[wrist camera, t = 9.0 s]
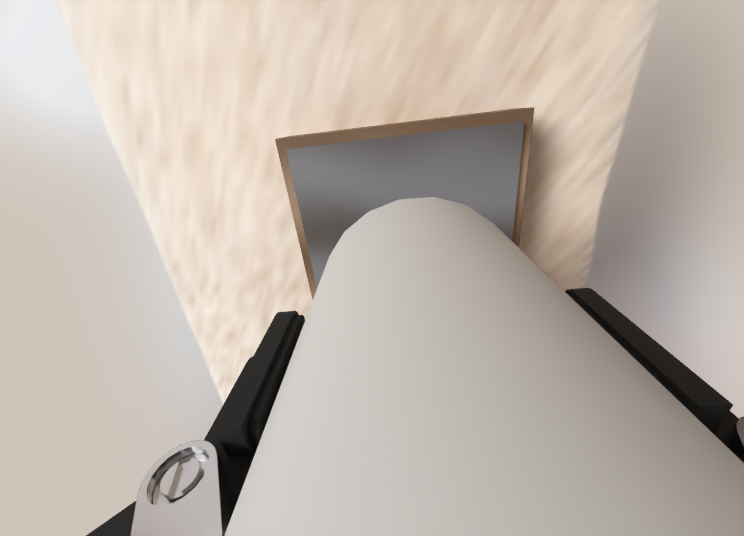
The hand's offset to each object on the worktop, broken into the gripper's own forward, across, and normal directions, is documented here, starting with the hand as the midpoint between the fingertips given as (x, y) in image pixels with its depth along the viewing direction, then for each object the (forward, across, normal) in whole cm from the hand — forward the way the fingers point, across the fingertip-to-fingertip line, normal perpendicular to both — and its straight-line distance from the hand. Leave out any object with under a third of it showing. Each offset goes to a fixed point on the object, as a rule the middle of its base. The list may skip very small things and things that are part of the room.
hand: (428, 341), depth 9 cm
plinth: (+11, 0, 0) cm, 11 cm away
